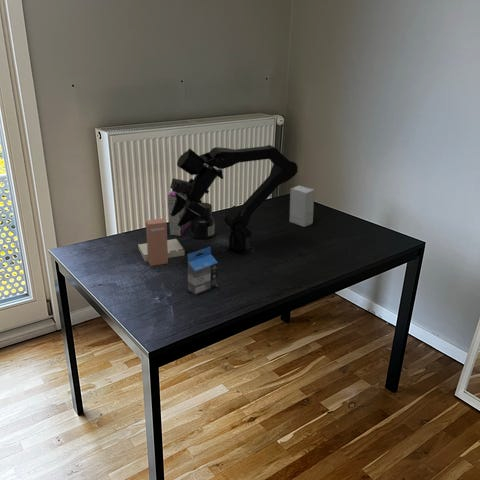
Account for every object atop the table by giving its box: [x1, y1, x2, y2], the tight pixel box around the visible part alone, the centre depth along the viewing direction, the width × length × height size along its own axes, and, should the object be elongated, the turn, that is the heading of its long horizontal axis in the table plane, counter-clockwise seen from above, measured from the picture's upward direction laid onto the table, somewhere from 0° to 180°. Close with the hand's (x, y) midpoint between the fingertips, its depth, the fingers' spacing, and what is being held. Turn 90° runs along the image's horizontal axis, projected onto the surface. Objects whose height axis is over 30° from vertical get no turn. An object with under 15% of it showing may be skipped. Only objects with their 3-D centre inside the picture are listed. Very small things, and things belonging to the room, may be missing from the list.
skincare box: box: [288, 185, 315, 228], centre depth 194 cm, size 8×6×15 cm
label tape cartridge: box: [187, 246, 219, 295], centre depth 144 cm, size 9×4×12 cm, turn 131°
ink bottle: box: [190, 202, 215, 240], centre depth 181 cm, size 10×9×12 cm
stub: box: [145, 218, 169, 267], centre depth 158 cm, size 6×4×15 cm, turn 113°
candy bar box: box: [167, 190, 191, 237], centre depth 183 cm, size 11×5×16 cm, turn 168°
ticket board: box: [137, 238, 186, 263], centre depth 168 cm, size 14×10×2 cm
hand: (175, 220), depth 159 cm, fingers open, 9 cm apart
